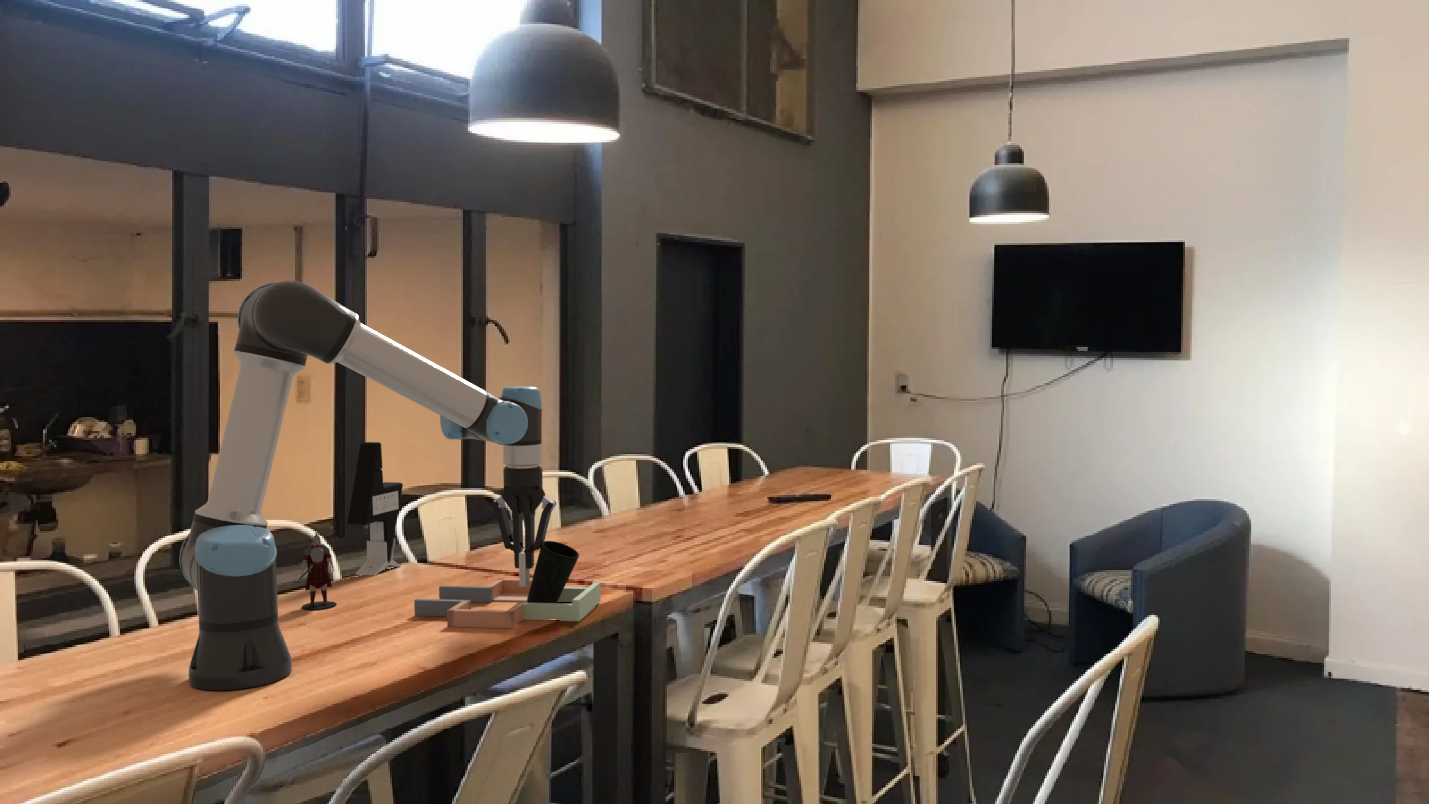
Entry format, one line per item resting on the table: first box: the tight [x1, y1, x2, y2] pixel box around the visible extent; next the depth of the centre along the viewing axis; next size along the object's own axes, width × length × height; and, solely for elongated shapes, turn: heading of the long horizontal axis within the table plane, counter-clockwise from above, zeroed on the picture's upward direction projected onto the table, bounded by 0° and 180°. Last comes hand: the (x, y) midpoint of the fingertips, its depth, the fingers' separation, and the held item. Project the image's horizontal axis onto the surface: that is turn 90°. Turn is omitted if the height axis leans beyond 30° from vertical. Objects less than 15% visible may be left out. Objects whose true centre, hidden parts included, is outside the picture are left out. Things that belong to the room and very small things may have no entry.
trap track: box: [413, 578, 601, 629], centre depth 221 cm, size 33×28×4 cm
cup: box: [526, 540, 580, 603], centre depth 220 cm, size 8×8×12 cm
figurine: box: [298, 532, 337, 611], centre depth 227 cm, size 7×7×15 cm
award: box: [346, 441, 404, 577], centre depth 260 cm, size 15×5×30 cm, turn 161°
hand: (524, 584), depth 221 cm, fingers closed
